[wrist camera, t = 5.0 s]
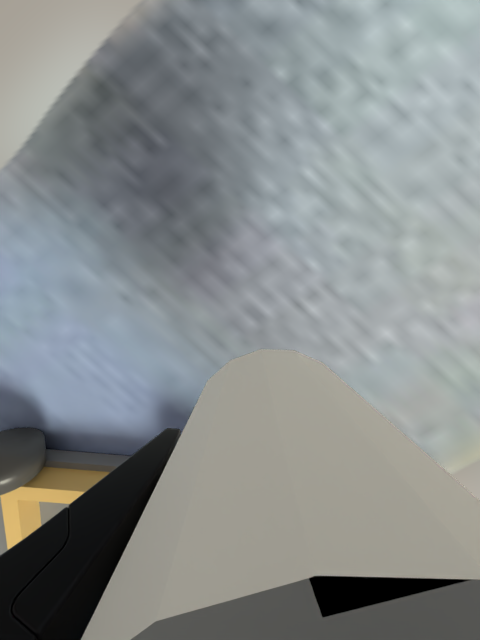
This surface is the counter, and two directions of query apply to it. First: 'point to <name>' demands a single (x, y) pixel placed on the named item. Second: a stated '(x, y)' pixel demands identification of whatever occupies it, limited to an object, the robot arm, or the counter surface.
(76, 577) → the robot arm
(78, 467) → the chassis
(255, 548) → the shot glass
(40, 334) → the counter surface
